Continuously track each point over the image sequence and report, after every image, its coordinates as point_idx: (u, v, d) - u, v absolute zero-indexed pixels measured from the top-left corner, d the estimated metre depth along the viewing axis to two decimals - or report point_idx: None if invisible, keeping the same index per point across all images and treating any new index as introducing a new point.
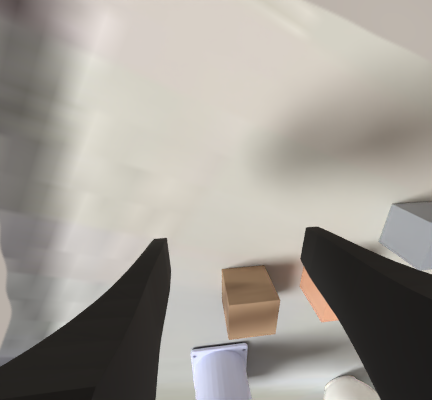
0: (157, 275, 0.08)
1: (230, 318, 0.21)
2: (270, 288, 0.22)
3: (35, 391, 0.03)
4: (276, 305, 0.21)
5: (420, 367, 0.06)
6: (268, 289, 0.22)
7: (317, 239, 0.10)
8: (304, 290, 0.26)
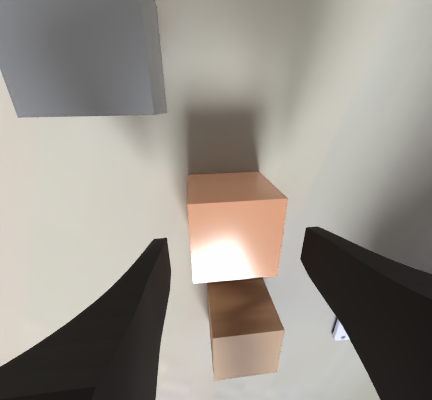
0: (157, 275, 0.08)
1: (237, 376, 0.16)
2: (210, 321, 0.16)
3: (35, 392, 0.03)
4: (223, 340, 0.14)
5: (420, 367, 0.06)
6: None
7: (317, 239, 0.10)
8: None
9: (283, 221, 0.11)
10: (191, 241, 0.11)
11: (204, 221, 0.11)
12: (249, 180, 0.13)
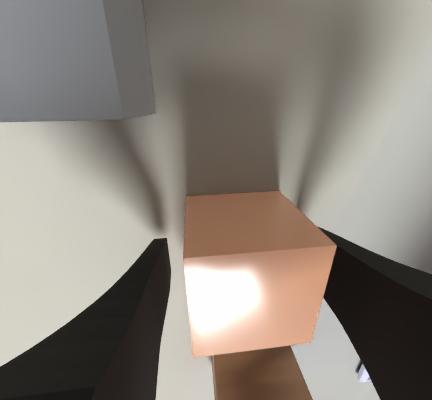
0: (157, 275, 0.08)
1: None
2: (215, 384, 0.12)
3: (35, 391, 0.03)
4: None
5: (420, 367, 0.06)
6: None
7: None
8: None
9: (326, 276, 0.07)
10: (190, 307, 0.07)
11: (209, 279, 0.07)
12: (270, 207, 0.10)
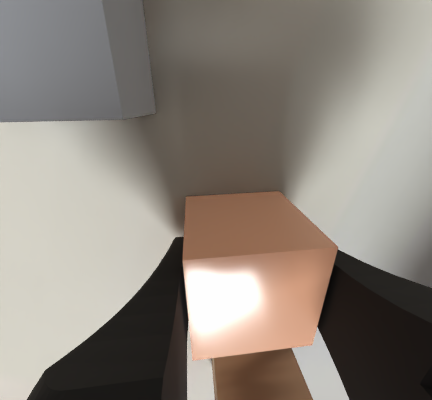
0: None
1: None
2: (215, 384, 0.12)
3: (105, 382, 0.03)
4: None
5: (384, 372, 0.06)
6: (216, 389, 0.12)
7: None
8: None
9: (328, 278, 0.07)
10: (189, 309, 0.07)
11: (209, 282, 0.07)
12: (270, 208, 0.10)
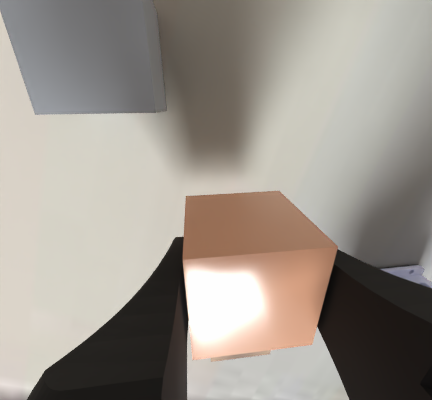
0: None
1: (232, 357, 0.17)
2: None
3: (105, 382, 0.03)
4: None
5: (384, 372, 0.06)
6: None
7: None
8: None
9: (327, 277, 0.07)
10: (189, 309, 0.07)
11: (209, 281, 0.07)
12: (270, 207, 0.10)
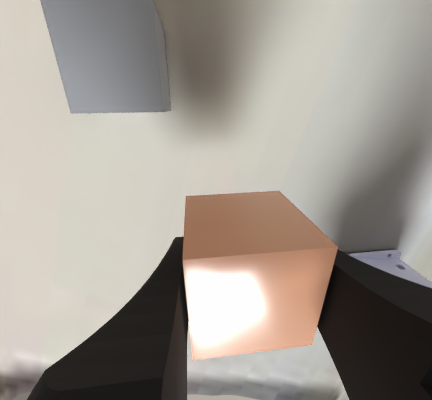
0: None
1: None
2: None
3: (105, 382, 0.03)
4: None
5: (384, 372, 0.06)
6: None
7: None
8: None
9: (328, 277, 0.07)
10: (189, 309, 0.07)
11: (209, 281, 0.07)
12: (270, 208, 0.09)
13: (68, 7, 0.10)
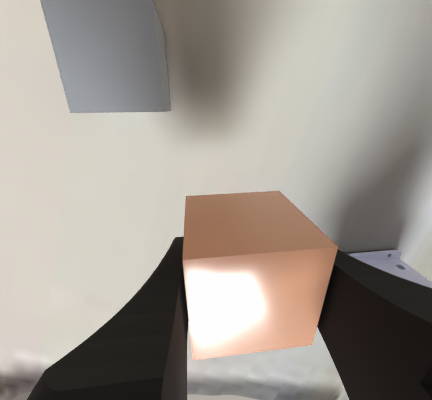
0: None
1: None
2: None
3: (105, 382, 0.03)
4: None
5: (384, 372, 0.06)
6: None
7: None
8: None
9: (328, 277, 0.07)
10: (189, 309, 0.07)
11: (209, 281, 0.07)
12: (270, 208, 0.09)
13: (67, 7, 0.10)
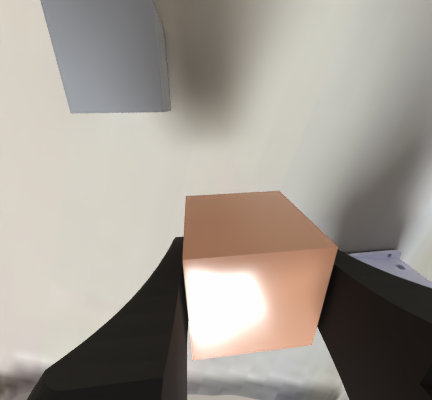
0: None
1: None
2: None
3: (105, 382, 0.03)
4: None
5: (384, 372, 0.06)
6: None
7: None
8: None
9: (328, 277, 0.07)
10: (189, 309, 0.07)
11: (209, 281, 0.07)
12: (270, 208, 0.09)
13: (68, 7, 0.10)
